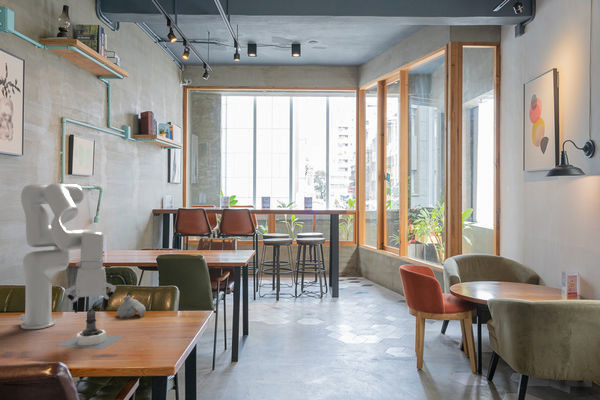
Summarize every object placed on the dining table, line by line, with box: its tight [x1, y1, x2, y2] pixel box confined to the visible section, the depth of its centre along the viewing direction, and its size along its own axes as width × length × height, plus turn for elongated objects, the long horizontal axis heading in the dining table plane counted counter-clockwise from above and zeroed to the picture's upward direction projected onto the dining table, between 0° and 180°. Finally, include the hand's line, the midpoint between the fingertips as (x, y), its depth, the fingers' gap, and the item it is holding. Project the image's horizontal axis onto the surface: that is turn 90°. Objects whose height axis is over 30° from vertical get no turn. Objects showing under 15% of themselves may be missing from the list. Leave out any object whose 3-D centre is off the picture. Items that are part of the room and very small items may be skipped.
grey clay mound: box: [116, 295, 147, 319], centre depth 204 cm, size 12×12×11 cm
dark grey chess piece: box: [81, 308, 100, 336], centre depth 164 cm, size 6×6×12 cm
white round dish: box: [76, 328, 107, 345], centre depth 164 cm, size 9×9×3 cm
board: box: [56, 335, 124, 350], centre depth 164 cm, size 18×14×1 cm
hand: (90, 310), depth 164 cm, fingers open, 9 cm apart
